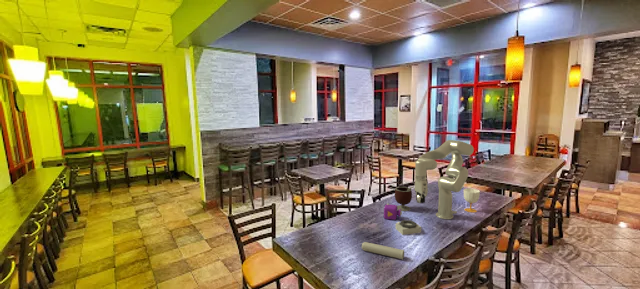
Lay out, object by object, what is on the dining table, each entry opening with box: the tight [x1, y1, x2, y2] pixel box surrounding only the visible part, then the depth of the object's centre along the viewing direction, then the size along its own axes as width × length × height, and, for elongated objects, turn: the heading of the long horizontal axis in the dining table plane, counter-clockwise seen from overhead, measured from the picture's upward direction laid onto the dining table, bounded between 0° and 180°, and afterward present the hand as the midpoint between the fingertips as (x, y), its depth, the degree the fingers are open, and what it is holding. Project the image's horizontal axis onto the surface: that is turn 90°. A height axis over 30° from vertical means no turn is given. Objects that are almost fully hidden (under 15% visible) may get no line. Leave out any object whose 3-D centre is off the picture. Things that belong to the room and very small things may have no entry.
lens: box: [416, 193, 424, 204], centre depth 199 cm, size 5×5×6 cm
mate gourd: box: [394, 185, 415, 212], centre depth 231 cm, size 16×14×20 cm
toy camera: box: [383, 203, 403, 221], centre depth 213 cm, size 11×14×10 cm
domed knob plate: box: [395, 219, 422, 236], centre depth 191 cm, size 14×10×6 cm
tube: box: [361, 241, 405, 261], centre depth 163 cm, size 5×5×25 cm
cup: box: [463, 187, 481, 214], centre depth 224 cm, size 12×12×17 cm
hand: (420, 201), depth 199 cm, fingers closed on lens, 5 cm apart
